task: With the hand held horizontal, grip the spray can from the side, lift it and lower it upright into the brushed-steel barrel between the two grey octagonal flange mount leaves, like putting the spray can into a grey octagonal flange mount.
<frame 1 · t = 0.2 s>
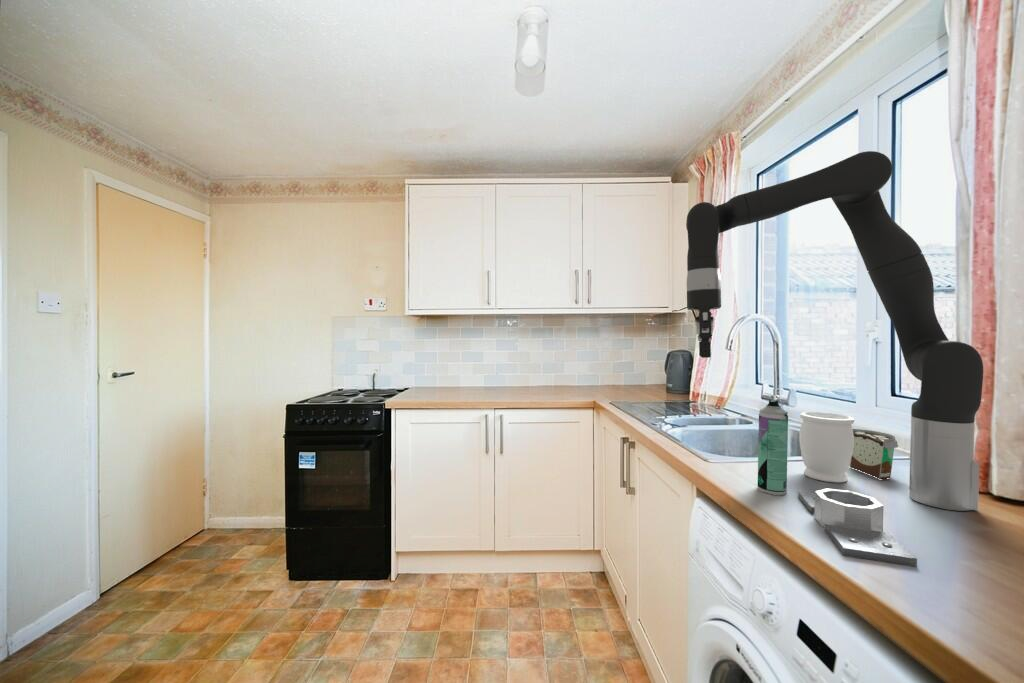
hand: (704, 357, 104), 29 cm above the countertop, tool pointing down, fingers open, 8 cm apart
spray can: (771, 491, 95), on the countertop
food container: (876, 474, 107), on the countertop
grey octagonal flange mount: (847, 525, 78), on the countertop
jar: (825, 478, 104), on the countertop
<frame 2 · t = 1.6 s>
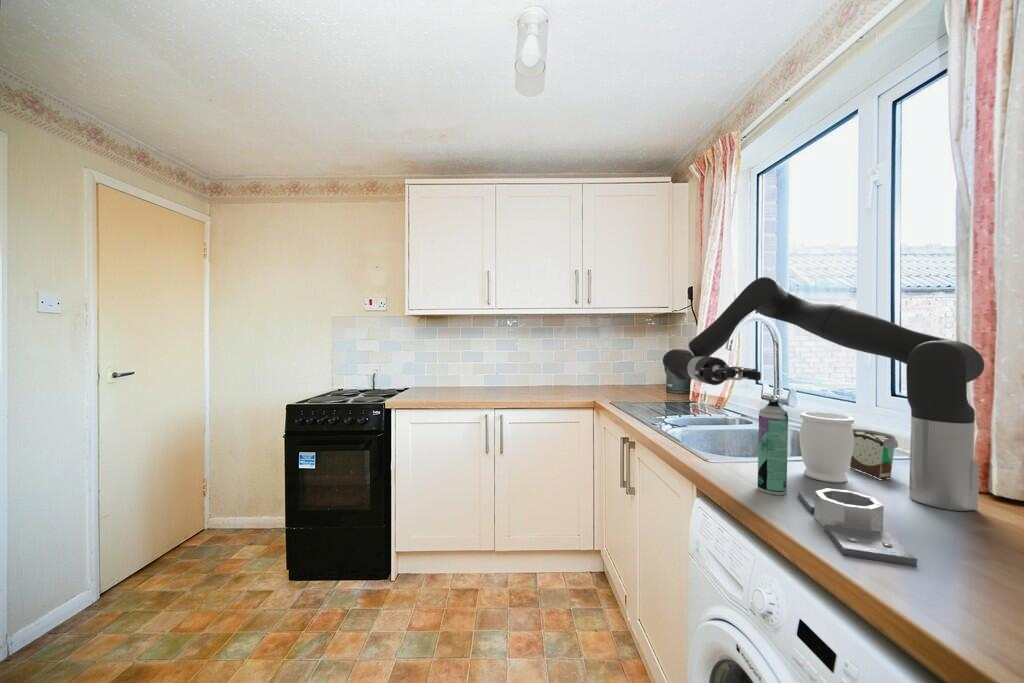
hand: (742, 376, 106), 24 cm above the countertop, tool horizontal, fingers open, 8 cm apart
nothing on the countertop moved.
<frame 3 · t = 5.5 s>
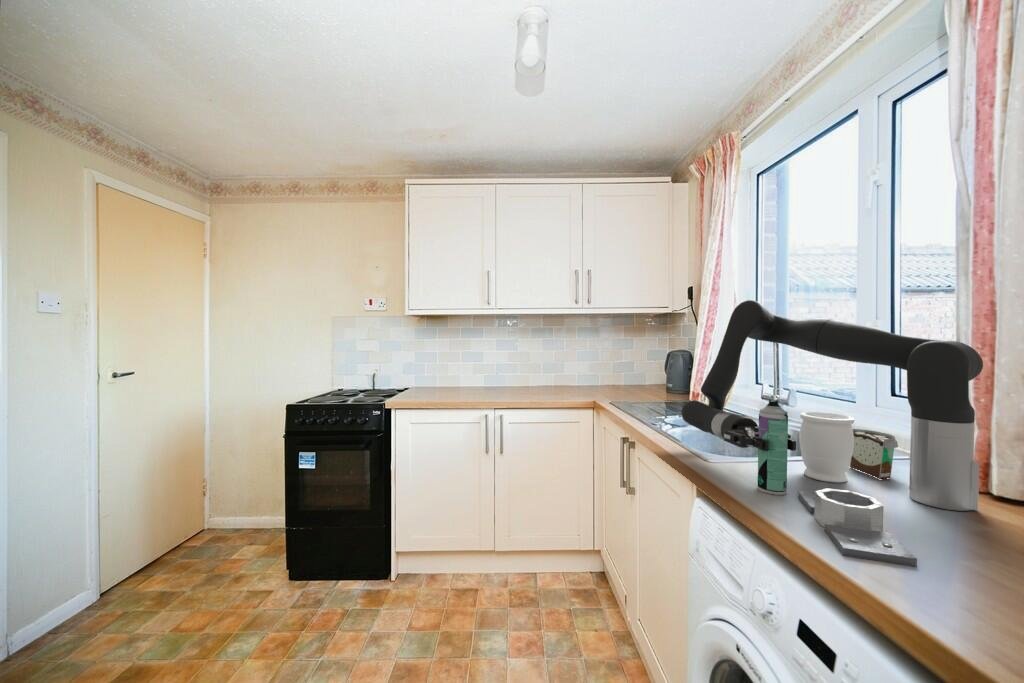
hand: (780, 446, 92), 11 cm above the countertop, tool horizontal, fingers closed on spray can, 5 cm apart
spray can: (771, 491, 95), on the countertop, touching gripper
everything else where it was.
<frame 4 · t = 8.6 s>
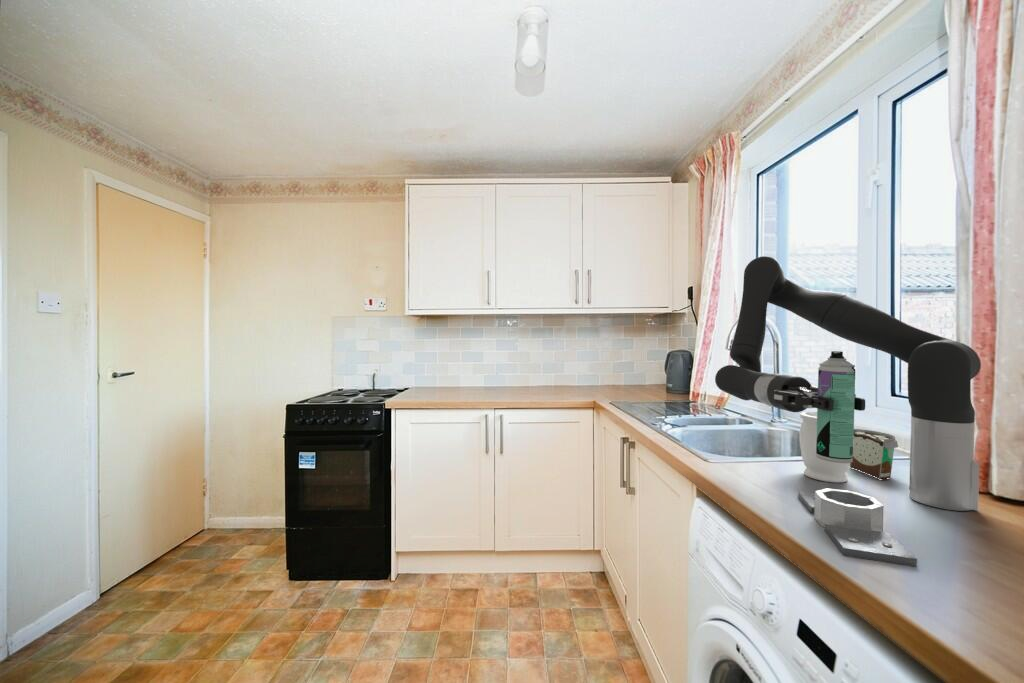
hand: (847, 404, 78), 22 cm above the countertop, tool horizontal, fingers closed on spray can, 5 cm apart
spray can: (834, 459, 81), point 11 cm above the countertop, touching gripper
everything else where it was.
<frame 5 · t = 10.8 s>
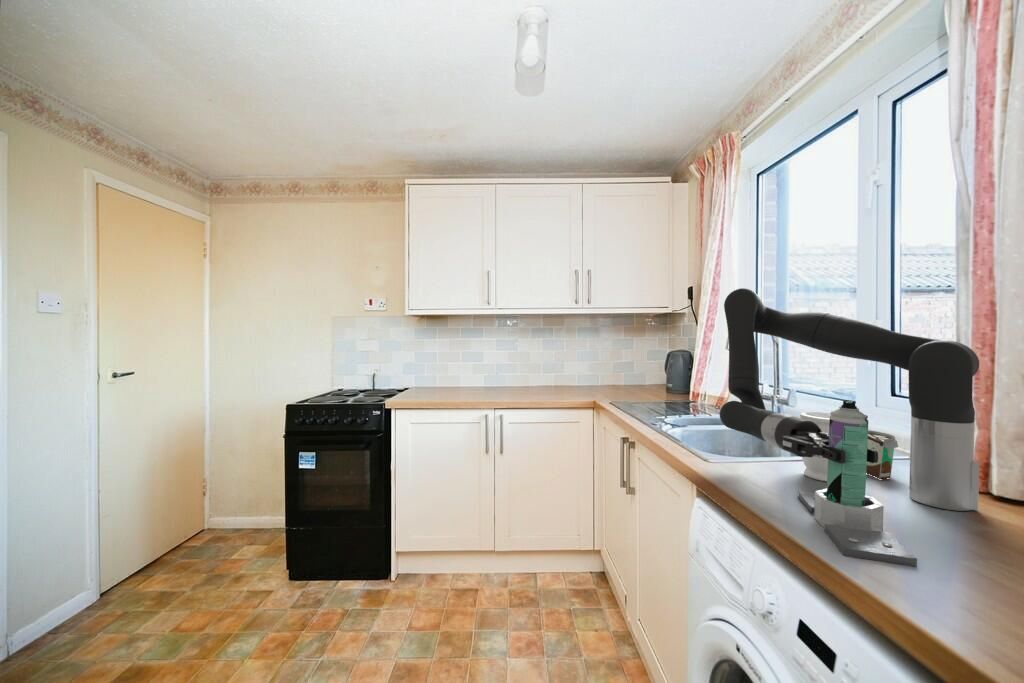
hand: (859, 457, 75), 13 cm above the countertop, tool horizontal, fingers closed on spray can, 5 cm apart
spray can: (844, 512, 78), point 2 cm above the countertop, touching gripper
everything else where it was.
when the fingers open (12 cm above the countertop, at t = 11.8 s): spray can drops 1 cm, resting in grey octagonal flange mount.
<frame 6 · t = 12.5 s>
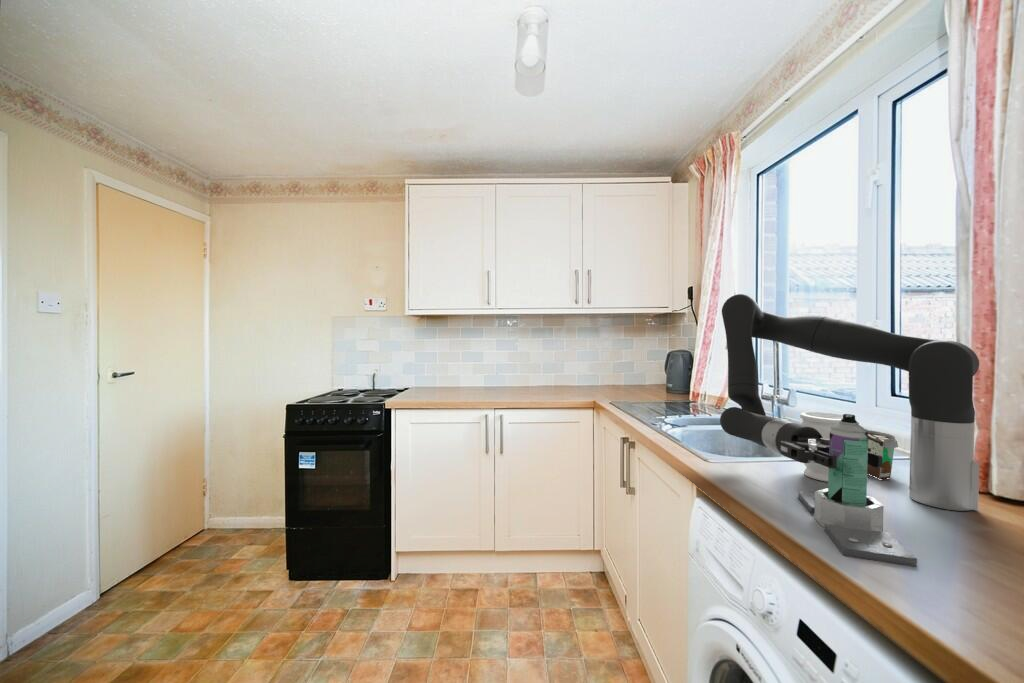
hand: (857, 462, 76), 12 cm above the countertop, tool horizontal, fingers open, 8 cm apart
spray can: (845, 526, 78), resting in grey octagonal flange mount
everything else where it was.
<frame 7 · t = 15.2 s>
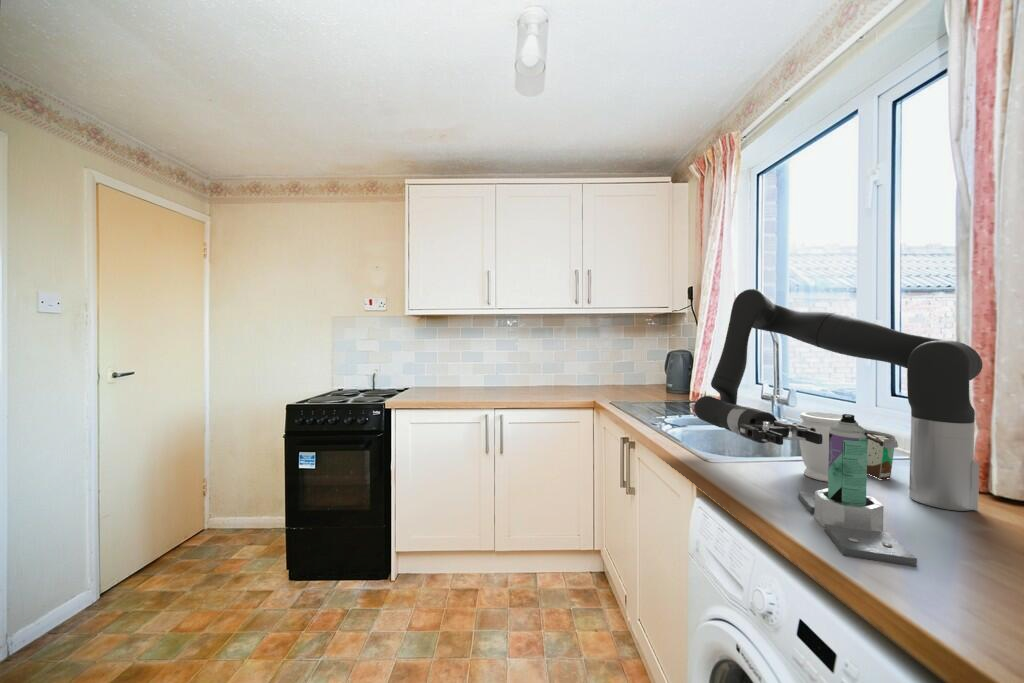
hand: (801, 439, 89), 13 cm above the countertop, tool horizontal, fingers open, 8 cm apart
nothing on the countertop moved.
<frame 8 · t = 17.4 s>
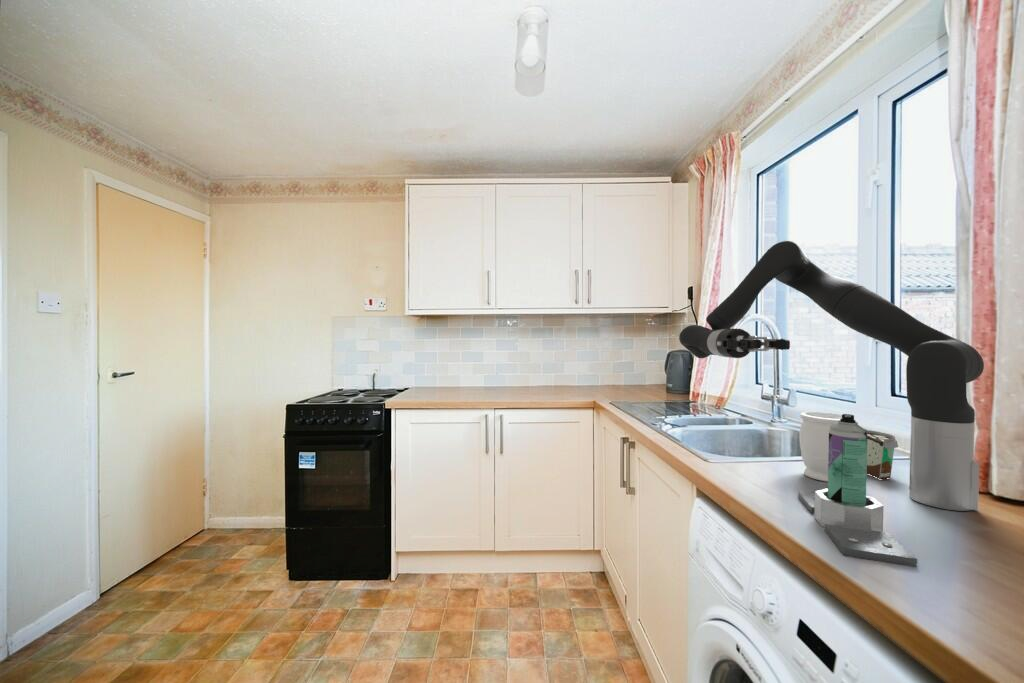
hand: (770, 344, 98), 32 cm above the countertop, tool horizontal, fingers open, 8 cm apart
nothing on the countertop moved.
at the end: spray can 0.2 cm from the grey octagonal flange mount (horizontally); spray can tilted 0°; spray can resting in grey octagonal flange mount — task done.
